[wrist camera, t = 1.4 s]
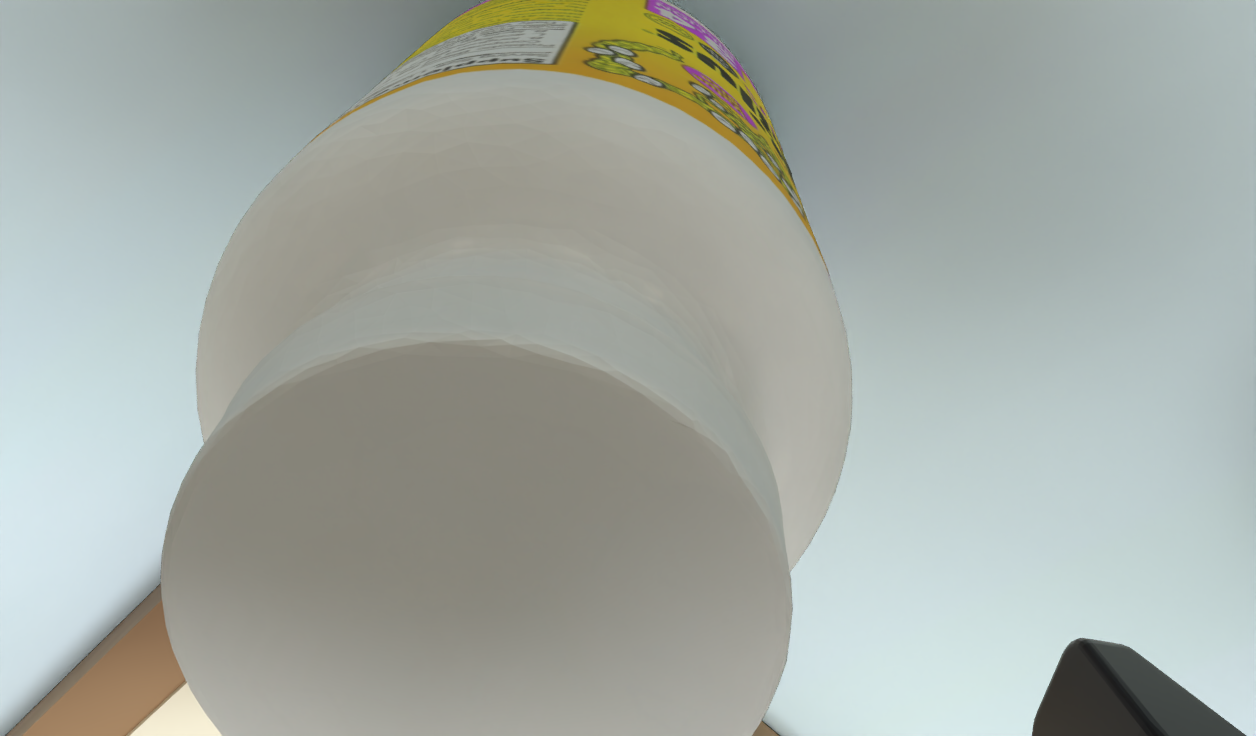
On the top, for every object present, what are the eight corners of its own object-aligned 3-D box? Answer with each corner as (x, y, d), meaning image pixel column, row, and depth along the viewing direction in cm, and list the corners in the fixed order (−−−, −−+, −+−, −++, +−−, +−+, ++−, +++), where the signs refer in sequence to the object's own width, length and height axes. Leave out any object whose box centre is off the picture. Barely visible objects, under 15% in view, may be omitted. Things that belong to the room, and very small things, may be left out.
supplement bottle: (817, 285, 21) (1014, 859, 9) (478, 386, 22) (271, 1018, 10) (708, -92, 18) (794, 49, 7) (329, 45, 19) (-175, 374, 8)
